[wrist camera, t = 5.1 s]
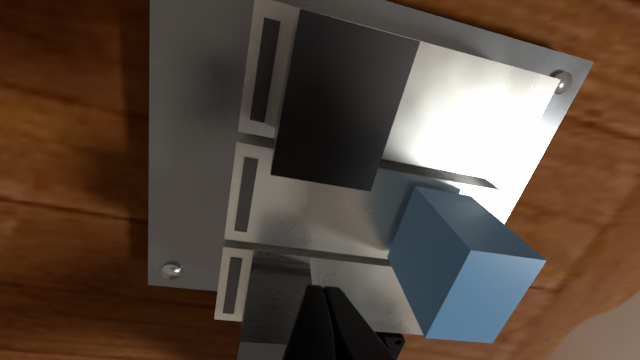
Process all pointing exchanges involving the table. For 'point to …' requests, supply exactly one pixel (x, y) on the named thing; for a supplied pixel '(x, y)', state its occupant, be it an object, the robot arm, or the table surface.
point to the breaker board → (216, 105)
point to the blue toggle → (460, 266)
